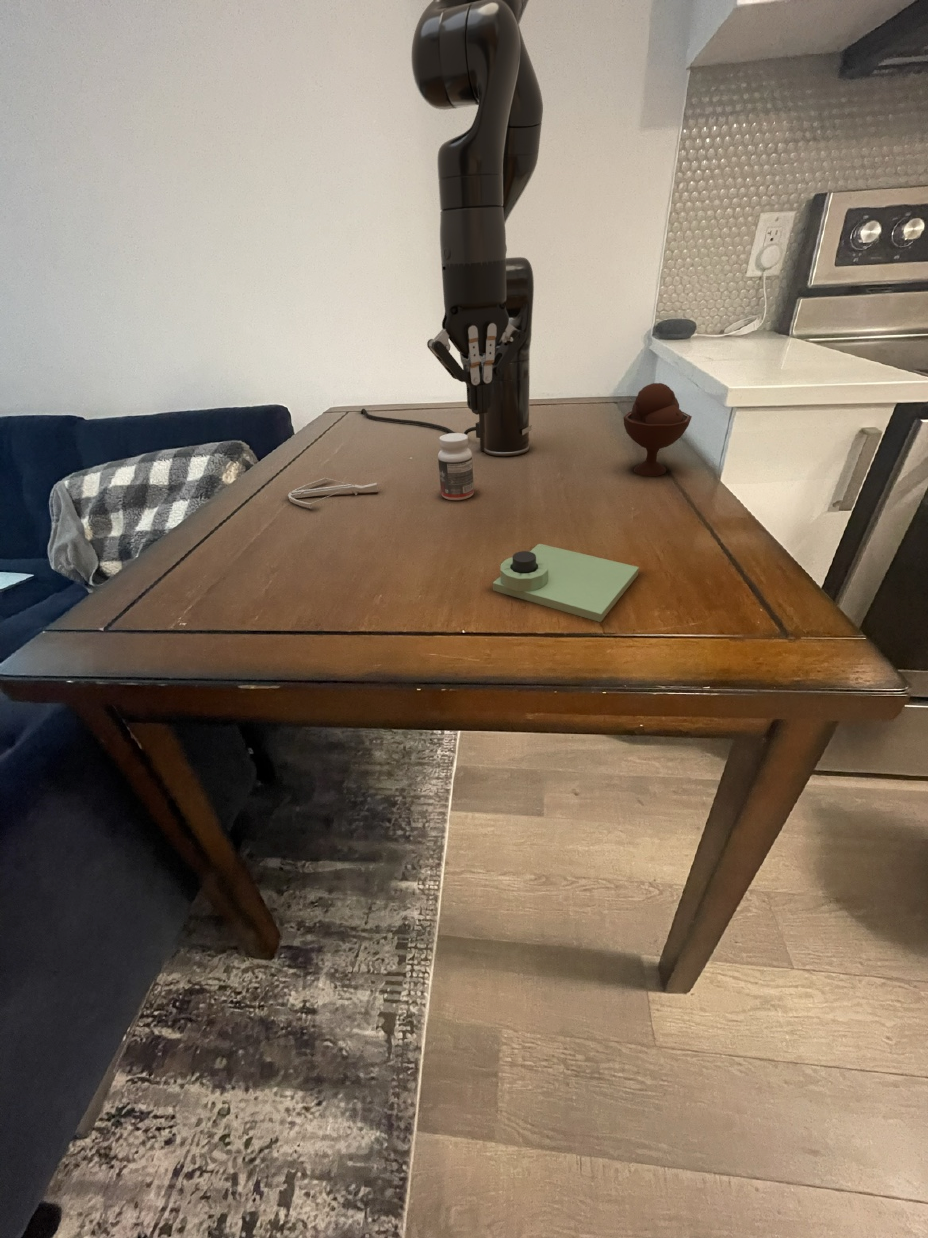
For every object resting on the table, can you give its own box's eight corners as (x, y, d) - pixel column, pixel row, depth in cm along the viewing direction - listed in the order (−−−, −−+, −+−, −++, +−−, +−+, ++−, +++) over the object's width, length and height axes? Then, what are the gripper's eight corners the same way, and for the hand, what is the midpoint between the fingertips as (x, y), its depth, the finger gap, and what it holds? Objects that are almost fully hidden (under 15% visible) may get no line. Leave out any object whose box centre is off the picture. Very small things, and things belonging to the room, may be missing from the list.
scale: (491, 592, 67) (490, 570, 65) (538, 551, 75) (539, 531, 73) (599, 624, 60) (601, 601, 58) (638, 575, 68) (641, 553, 66)
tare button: (508, 571, 65) (508, 558, 64) (519, 561, 67) (519, 548, 66) (528, 577, 64) (529, 563, 63) (539, 566, 66) (540, 554, 65)
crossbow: (281, 516, 92) (278, 505, 91) (299, 489, 103) (296, 478, 102) (374, 505, 91) (371, 493, 90) (382, 478, 102) (380, 468, 101)
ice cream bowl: (686, 481, 93) (702, 388, 84) (618, 480, 95) (628, 389, 86) (679, 461, 101) (693, 374, 93) (617, 460, 103) (625, 376, 95)
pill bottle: (440, 490, 96) (435, 433, 90) (472, 487, 96) (469, 430, 91) (442, 502, 91) (437, 443, 86) (475, 499, 91) (472, 440, 86)
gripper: (510, 253, 68) (510, 399, 78) (409, 261, 64) (423, 414, 74) (539, 253, 62) (536, 411, 72) (431, 262, 58) (443, 427, 68)
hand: (479, 412), depth 73 cm, fingers closed
